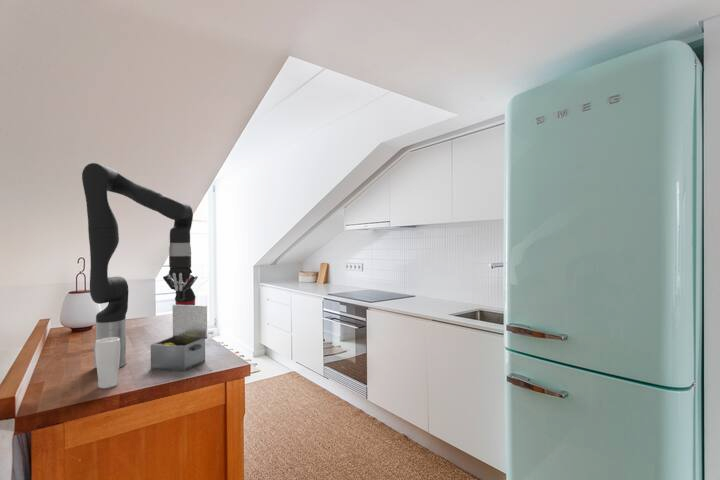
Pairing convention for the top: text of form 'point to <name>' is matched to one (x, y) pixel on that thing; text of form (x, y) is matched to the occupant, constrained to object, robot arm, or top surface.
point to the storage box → (178, 353)
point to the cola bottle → (187, 297)
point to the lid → (190, 321)
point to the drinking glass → (107, 361)
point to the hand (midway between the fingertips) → (180, 300)
